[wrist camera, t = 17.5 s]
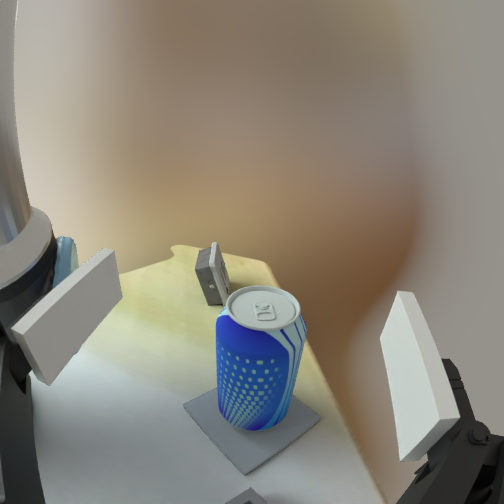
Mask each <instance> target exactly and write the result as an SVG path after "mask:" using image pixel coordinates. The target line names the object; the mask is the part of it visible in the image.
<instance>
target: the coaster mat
mask: <svg viewBox="0 0 504 504" xmlns="http://www.w3.org/2000/svg"><path fill="white" fill-rule="evenodd" d="M183 407H184V408H185V409H186V411H187V412H188V413H189V414H190V416H191V417H192V418H193V419H194V420H195V422H196V423H197V424H198V425H199V426H200V428H201V429H202V430H203V431H204V432H205V433H206V435H207V436H208V437H209V438H210V439H211V440H212V442H213V443H214V444H215V445H216V446H217V447H218V448H219V449H220V450H221V452H222V453H223V454H224V455H225V456H226V457H227V458H228V459H229V460H230V461H231V462H232V463H233V464H234V465H235V466H236V467H237V468H238V470H239V471H240V472H241V473H242V474H243V475H244V476H245V475H246V474H248V473H249V472H251V471H252V470H254V469H255V468H257V467H258V466H260V465H261V464H263V463H264V462H266V461H267V460H269V459H270V458H271V457H273V456H274V455H276V454H277V453H278V452H280V451H281V450H282V449H284V448H285V447H286V446H288V445H289V444H290V443H292V442H293V441H294V440H296V439H297V438H298V437H299V436H301V435H302V434H303V433H304V432H306V431H307V430H308V429H309V428H311V427H312V426H313V425H314V424H316V423H317V422H318V421H319V420H320V419H321V417H320V416H319V415H318V414H316V413H315V412H314V411H312V410H311V409H310V408H309V407H307V406H306V405H305V404H303V403H302V402H301V401H300V400H298V399H297V398H296V397H295V396H293V395H292V397H291V401H290V404H289V408H288V412H287V414H286V416H285V417H284V419H283V420H282V421H281V422H280V423H279V424H277V425H276V426H274V427H272V428H269V429H266V430H262V431H248V430H243V429H240V428H237V427H235V426H233V425H232V424H230V423H229V422H228V421H226V420H225V418H224V417H223V416H222V414H221V412H220V410H219V407H218V389H217V388H215V389H213V390H211V391H209V392H207V393H205V394H203V395H201V396H199V397H197V398H195V399H193V400H191V401H189V402H187V403H185V404H183Z"/></svg>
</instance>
